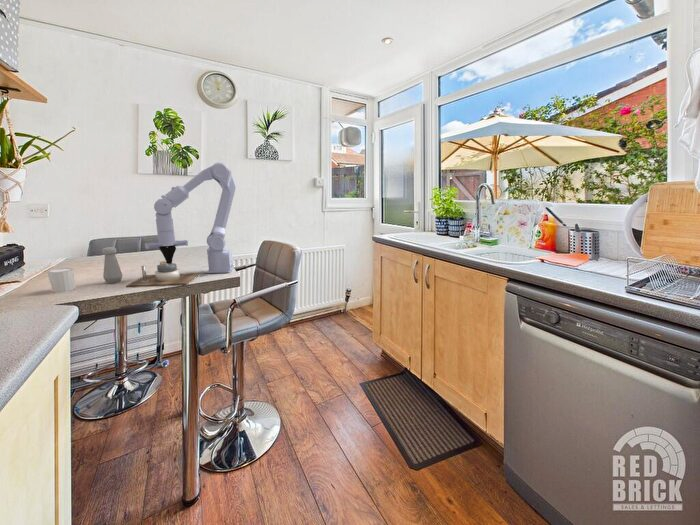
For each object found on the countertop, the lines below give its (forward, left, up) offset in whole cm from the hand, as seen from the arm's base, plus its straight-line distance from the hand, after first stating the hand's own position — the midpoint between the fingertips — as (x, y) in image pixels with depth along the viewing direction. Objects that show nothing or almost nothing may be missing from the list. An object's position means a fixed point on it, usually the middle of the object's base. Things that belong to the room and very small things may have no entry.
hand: (169, 265), depth 132 cm
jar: (-2, +7, -4) cm, 9 cm away
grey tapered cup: (+28, +16, -5) cm, 33 cm away
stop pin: (+5, +11, -4) cm, 13 cm away
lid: (0, +5, -1) cm, 5 cm away
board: (-1, +7, -4) cm, 8 cm away
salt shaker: (+17, +7, -5) cm, 19 cm away
